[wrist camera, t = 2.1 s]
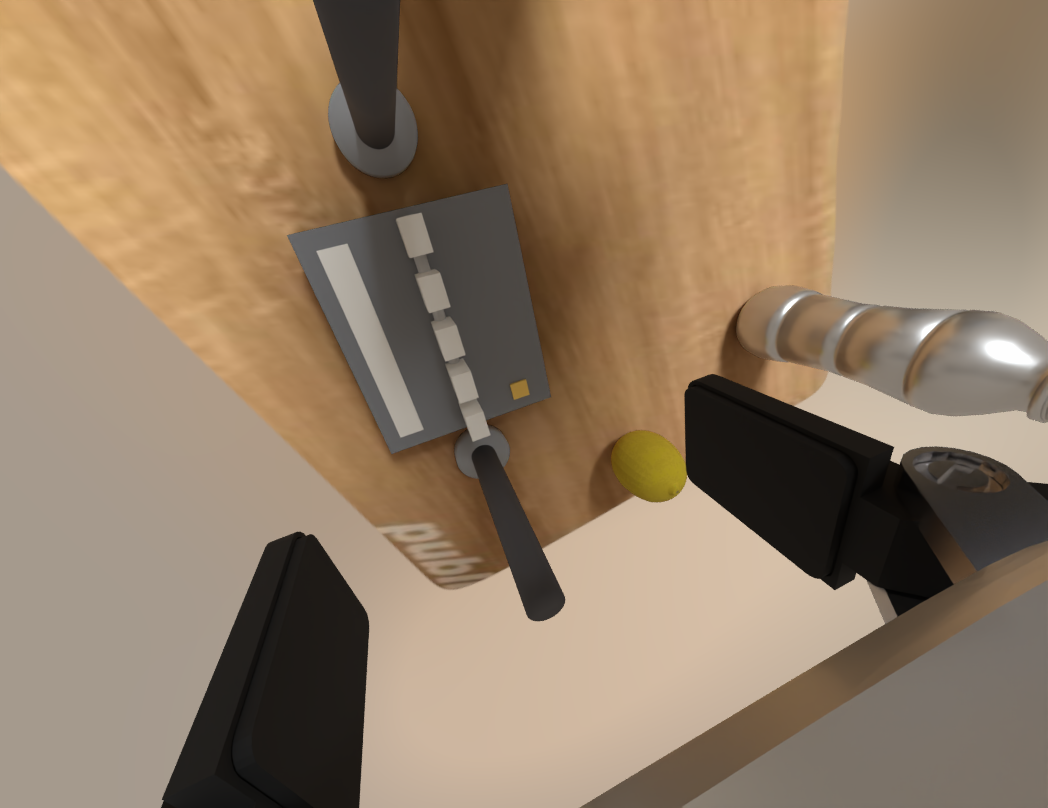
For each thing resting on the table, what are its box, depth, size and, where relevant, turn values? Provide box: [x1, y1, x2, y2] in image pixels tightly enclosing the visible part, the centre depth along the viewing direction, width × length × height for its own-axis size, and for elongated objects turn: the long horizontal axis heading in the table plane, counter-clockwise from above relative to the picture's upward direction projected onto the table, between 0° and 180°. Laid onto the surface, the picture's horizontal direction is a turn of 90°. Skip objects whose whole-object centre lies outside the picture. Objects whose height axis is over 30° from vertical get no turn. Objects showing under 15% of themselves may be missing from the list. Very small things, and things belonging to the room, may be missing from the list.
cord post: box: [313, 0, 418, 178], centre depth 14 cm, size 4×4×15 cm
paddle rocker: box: [396, 213, 490, 442], centre depth 22 cm, size 13×1×3 cm, turn 13°
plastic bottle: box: [736, 285, 1048, 423], centre depth 26 cm, size 6×7×20 cm
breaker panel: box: [287, 184, 551, 454], centre depth 24 cm, size 14×12×3 cm
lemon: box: [611, 430, 687, 502], centre depth 32 cm, size 6×6×8 cm
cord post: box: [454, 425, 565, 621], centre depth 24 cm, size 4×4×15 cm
